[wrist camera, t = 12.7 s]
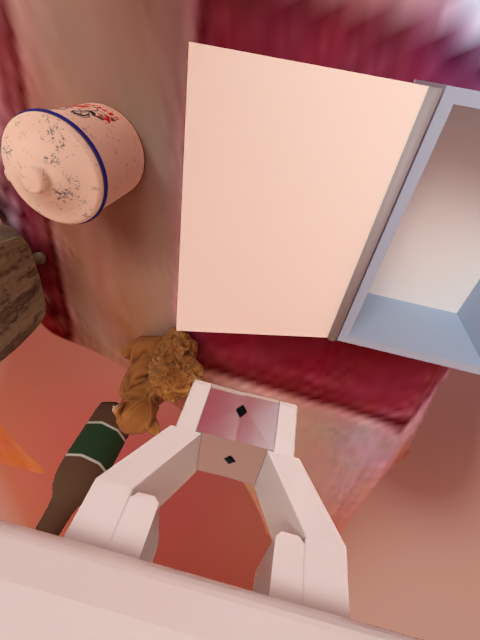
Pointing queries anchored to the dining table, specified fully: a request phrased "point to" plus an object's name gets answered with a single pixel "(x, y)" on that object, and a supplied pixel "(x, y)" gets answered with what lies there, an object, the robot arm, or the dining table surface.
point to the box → (429, 249)
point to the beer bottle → (83, 467)
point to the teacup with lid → (72, 159)
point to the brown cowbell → (18, 290)
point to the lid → (286, 188)
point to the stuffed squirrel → (155, 378)
